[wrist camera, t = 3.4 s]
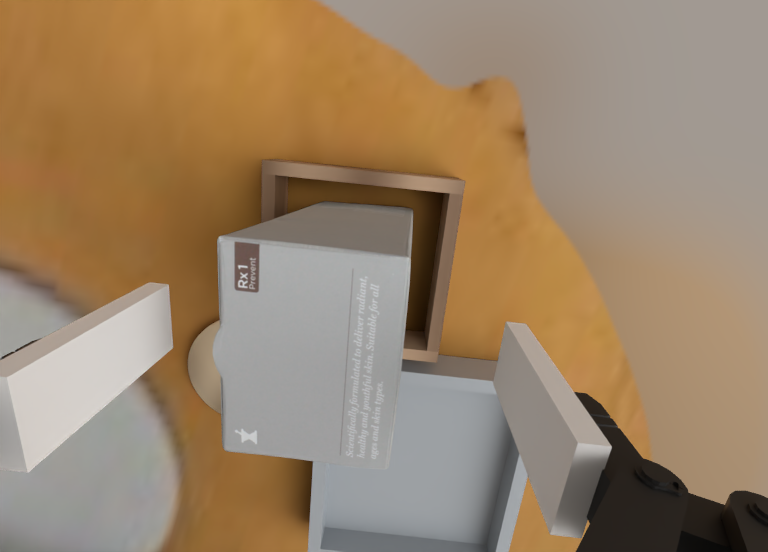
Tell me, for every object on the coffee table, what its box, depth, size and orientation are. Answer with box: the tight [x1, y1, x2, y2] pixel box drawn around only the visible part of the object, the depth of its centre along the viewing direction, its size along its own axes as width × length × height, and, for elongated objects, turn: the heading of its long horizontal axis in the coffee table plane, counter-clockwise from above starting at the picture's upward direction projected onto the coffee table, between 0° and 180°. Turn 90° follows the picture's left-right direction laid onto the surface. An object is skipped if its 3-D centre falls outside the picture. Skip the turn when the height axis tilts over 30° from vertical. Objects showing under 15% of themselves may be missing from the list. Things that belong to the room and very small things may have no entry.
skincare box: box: [213, 201, 413, 470], centre depth 21 cm, size 8×7×16 cm
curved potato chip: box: [188, 320, 221, 414], centre depth 31 cm, size 9×9×1 cm
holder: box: [261, 159, 465, 363], centre depth 27 cm, size 12×12×3 cm
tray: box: [308, 355, 528, 552], centre depth 31 cm, size 16×18×3 cm
